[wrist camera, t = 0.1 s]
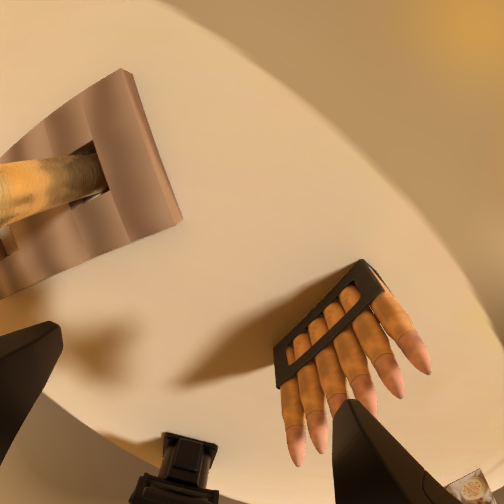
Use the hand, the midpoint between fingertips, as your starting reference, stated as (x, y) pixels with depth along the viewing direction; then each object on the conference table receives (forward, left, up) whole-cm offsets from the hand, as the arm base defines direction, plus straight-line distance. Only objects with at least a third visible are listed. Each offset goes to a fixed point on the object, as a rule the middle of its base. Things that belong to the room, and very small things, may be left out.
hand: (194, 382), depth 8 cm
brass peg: (+2, +12, -15) cm, 19 cm away
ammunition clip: (-4, -8, -15) cm, 17 cm away
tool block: (-1, +17, -15) cm, 23 cm away
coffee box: (-42, -62, -15) cm, 77 cm away
